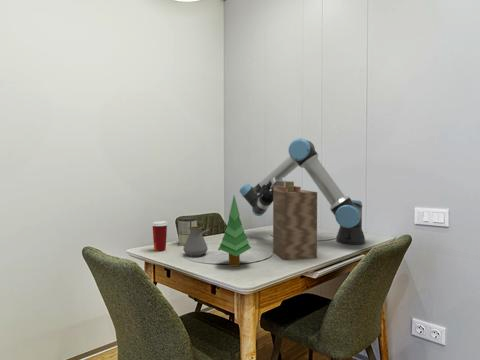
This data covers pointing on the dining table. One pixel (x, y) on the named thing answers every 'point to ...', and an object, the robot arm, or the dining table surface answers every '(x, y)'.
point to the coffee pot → (197, 241)
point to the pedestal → (294, 223)
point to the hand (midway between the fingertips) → (278, 179)
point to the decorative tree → (234, 237)
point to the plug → (285, 184)
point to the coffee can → (185, 228)
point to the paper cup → (159, 235)
